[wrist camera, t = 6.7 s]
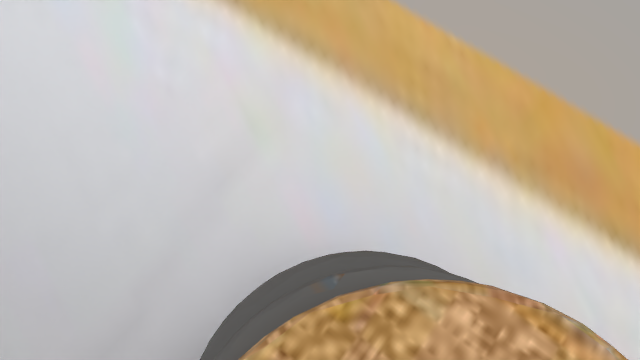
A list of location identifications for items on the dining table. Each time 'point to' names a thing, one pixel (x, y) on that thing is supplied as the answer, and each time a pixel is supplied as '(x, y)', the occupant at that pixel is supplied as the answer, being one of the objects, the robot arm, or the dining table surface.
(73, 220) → the dining table surface
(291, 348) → the bottle
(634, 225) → the dining table surface
